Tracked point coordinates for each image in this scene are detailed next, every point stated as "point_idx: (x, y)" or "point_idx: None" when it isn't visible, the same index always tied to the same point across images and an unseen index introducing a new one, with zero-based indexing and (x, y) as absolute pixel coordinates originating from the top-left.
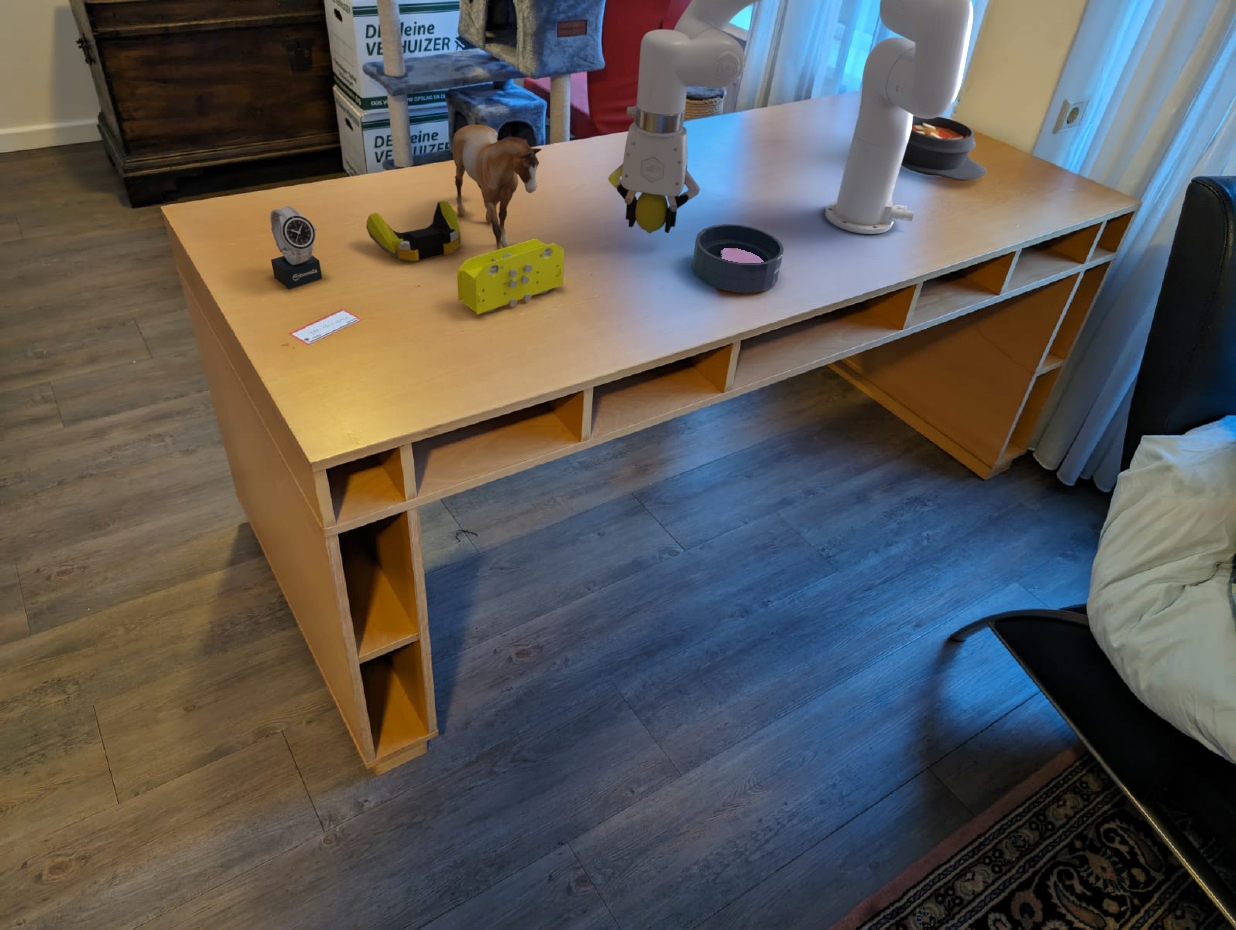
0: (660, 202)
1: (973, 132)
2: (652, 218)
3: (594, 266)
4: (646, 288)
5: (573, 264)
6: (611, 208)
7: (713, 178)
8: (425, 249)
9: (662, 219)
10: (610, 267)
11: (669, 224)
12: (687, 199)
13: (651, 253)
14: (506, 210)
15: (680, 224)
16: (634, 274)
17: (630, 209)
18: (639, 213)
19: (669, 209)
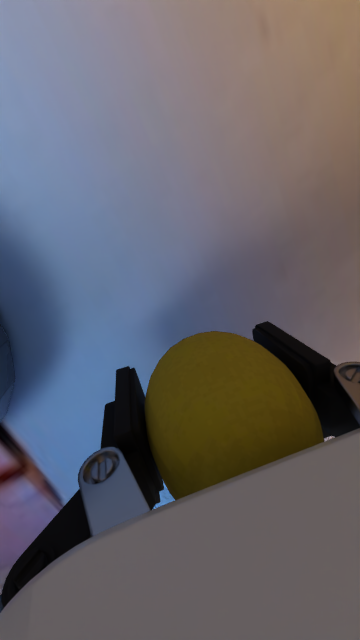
0: (186, 453)
1: None
2: (187, 355)
3: (275, 111)
4: (31, 33)
5: (340, 81)
6: (326, 437)
7: None
8: None
9: (149, 390)
10: (227, 138)
11: (116, 391)
12: (6, 586)
13: (157, 312)
14: None
15: None
16: (134, 136)
17: (310, 353)
18: (260, 350)
19: (134, 452)
